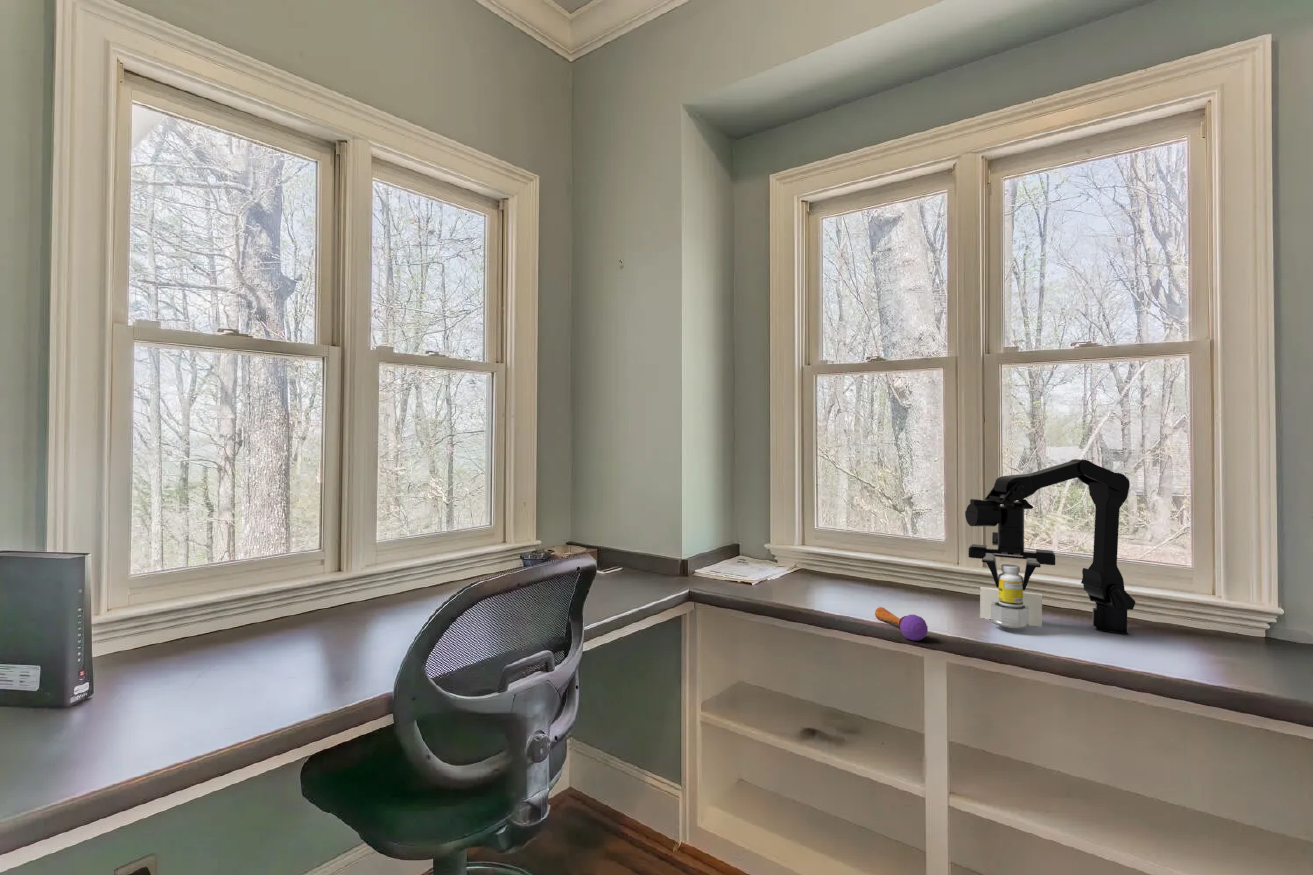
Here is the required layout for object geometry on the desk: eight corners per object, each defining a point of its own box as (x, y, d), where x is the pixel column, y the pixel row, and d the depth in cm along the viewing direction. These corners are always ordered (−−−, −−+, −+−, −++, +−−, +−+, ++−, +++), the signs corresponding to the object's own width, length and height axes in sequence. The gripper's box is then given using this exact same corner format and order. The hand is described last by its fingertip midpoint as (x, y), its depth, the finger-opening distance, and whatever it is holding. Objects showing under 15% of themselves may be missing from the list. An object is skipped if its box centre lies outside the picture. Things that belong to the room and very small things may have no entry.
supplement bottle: (999, 600, 159) (999, 562, 160) (1023, 604, 156) (1023, 565, 157) (997, 605, 155) (997, 566, 155) (1022, 608, 152) (1022, 568, 152)
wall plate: (1041, 624, 160) (1041, 593, 160) (1041, 626, 158) (1042, 595, 158) (980, 616, 167) (980, 586, 167) (980, 618, 166) (980, 588, 166)
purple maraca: (893, 604, 164) (934, 619, 145) (889, 626, 164) (930, 645, 144) (871, 600, 164) (910, 615, 144) (868, 622, 163) (906, 641, 143)
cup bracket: (1028, 619, 160) (1028, 601, 160) (1029, 630, 150) (1029, 611, 150) (992, 614, 164) (992, 597, 164) (990, 624, 154) (990, 606, 154)
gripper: (1053, 525, 158) (1053, 586, 158) (971, 520, 168) (971, 578, 167) (1055, 530, 148) (1055, 596, 148) (968, 525, 158) (968, 586, 158)
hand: (1010, 588), depth 156 cm, fingers closed on supplement bottle, 5 cm apart
